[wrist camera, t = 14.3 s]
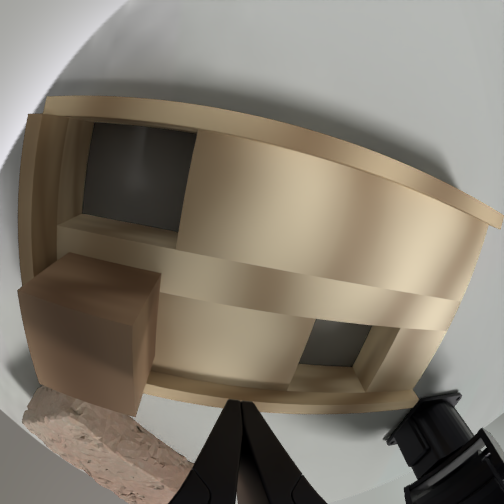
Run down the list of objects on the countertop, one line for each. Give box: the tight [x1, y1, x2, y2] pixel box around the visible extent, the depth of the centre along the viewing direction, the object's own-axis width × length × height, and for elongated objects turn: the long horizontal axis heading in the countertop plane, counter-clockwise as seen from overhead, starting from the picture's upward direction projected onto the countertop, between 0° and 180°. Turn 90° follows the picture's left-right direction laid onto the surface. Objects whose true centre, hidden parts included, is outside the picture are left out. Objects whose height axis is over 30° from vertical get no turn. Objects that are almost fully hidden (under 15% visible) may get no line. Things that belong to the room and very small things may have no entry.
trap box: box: [18, 96, 504, 414], centre depth 12 cm, size 22×13×4 cm, turn 77°
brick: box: [22, 385, 194, 504], centre depth 17 cm, size 17×8×5 cm, turn 29°
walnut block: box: [17, 252, 162, 417], centre depth 10 cm, size 4×4×4 cm
